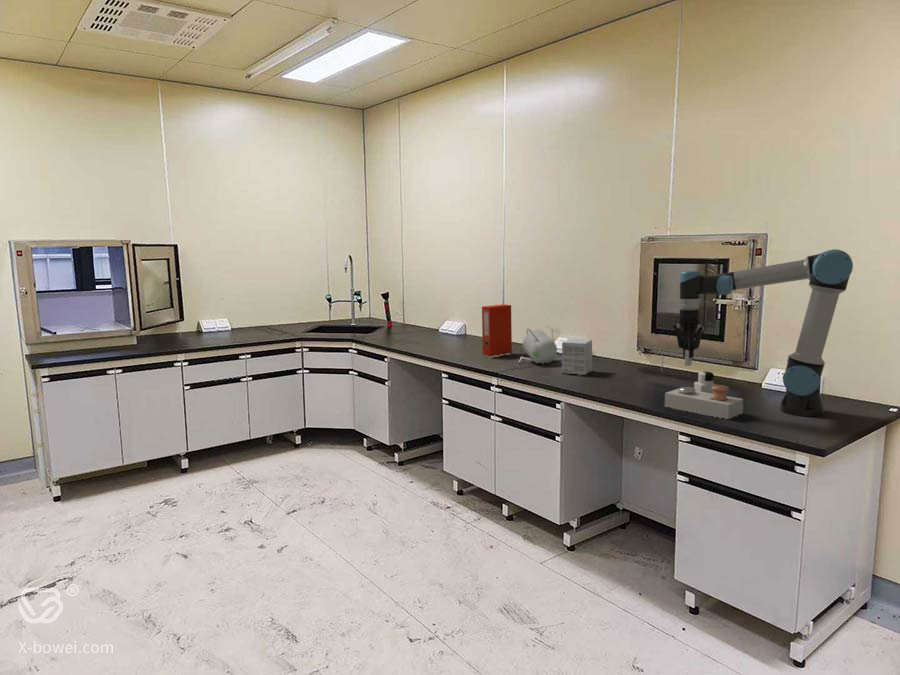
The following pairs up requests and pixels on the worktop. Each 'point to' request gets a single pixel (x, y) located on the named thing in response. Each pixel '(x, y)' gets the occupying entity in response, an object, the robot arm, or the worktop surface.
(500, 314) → the file binder
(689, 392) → the metal plug
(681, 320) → the robot arm
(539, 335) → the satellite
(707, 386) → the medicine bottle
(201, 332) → the worktop surface
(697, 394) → the block
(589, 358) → the supplement box
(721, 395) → the terracotta plug
